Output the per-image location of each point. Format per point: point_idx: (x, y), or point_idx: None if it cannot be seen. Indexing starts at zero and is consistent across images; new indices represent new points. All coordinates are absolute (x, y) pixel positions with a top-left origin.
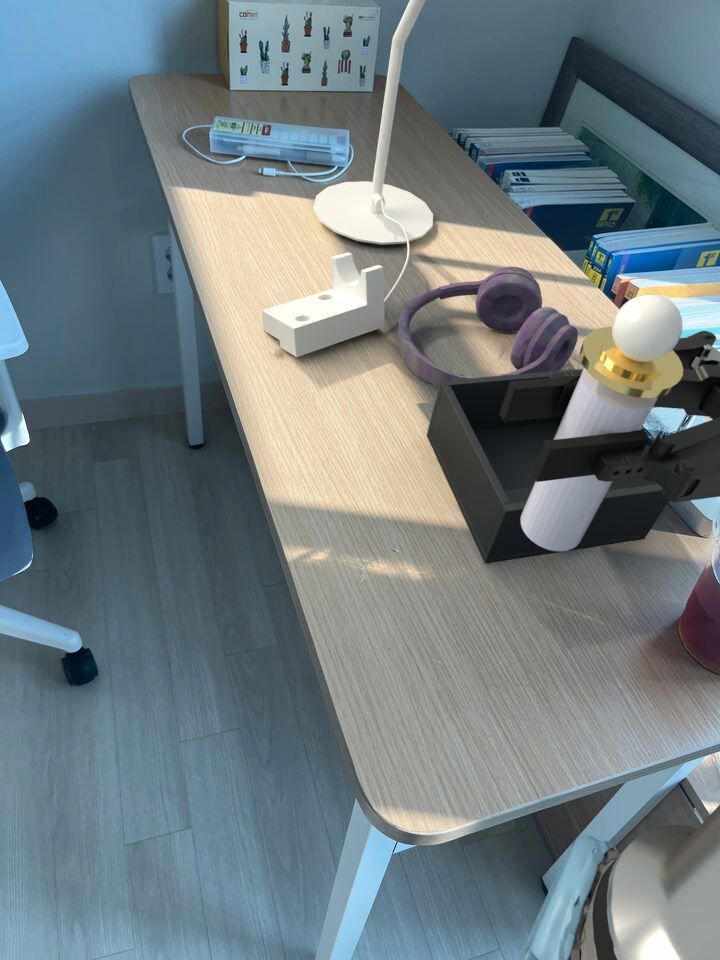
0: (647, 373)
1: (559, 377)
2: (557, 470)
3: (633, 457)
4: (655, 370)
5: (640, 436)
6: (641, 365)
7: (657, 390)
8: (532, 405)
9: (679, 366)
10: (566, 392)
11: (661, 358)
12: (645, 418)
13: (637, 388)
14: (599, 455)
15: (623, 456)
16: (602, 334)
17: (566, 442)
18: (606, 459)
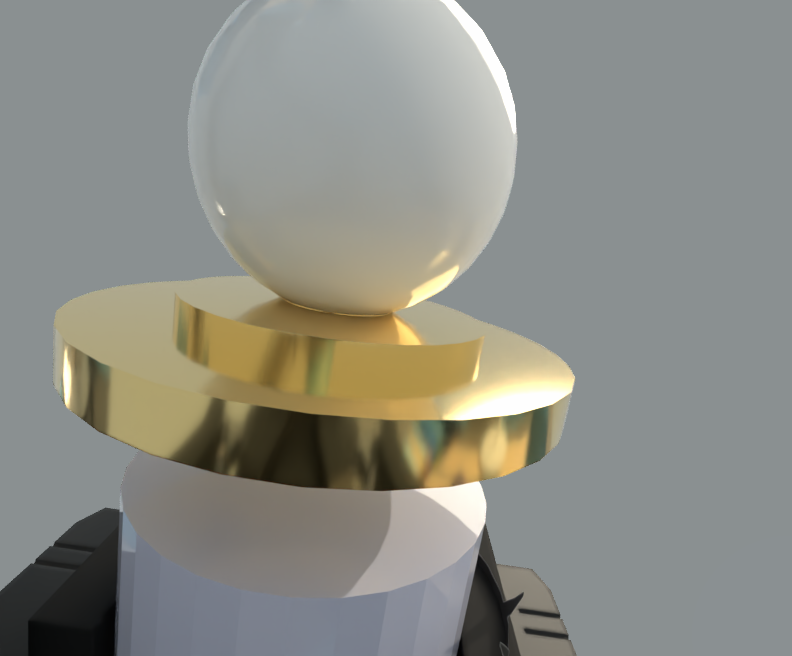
0: (202, 281)
1: (486, 532)
2: None
3: (42, 589)
4: (194, 285)
5: (77, 596)
6: (255, 287)
7: (107, 289)
8: None
9: (141, 361)
10: None
11: (253, 317)
12: (118, 585)
13: (171, 282)
14: None
15: (79, 560)
16: (496, 336)
17: None
18: (118, 518)
